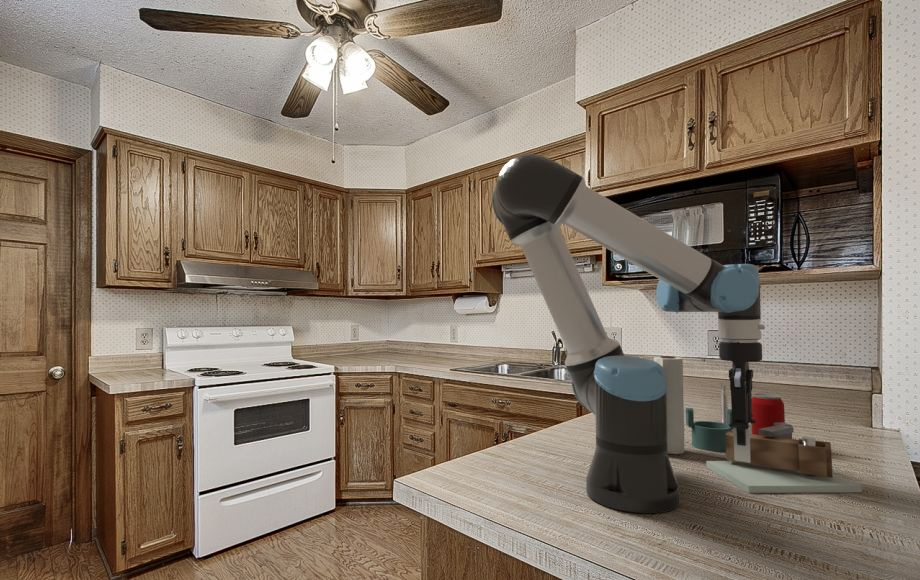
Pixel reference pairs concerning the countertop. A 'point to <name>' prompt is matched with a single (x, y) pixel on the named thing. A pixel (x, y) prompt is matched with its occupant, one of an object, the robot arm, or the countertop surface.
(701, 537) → the countertop surface
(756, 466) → the base board
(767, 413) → the beverage can
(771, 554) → the countertop surface
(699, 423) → the teal hollow cylinder
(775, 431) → the keeper
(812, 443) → the cylinder
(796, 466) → the link
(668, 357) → the paper towel roll
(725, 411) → the screw
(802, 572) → the countertop surface
